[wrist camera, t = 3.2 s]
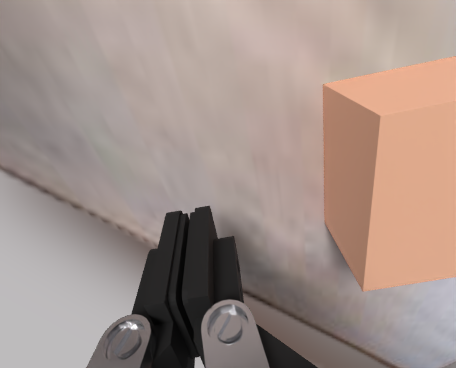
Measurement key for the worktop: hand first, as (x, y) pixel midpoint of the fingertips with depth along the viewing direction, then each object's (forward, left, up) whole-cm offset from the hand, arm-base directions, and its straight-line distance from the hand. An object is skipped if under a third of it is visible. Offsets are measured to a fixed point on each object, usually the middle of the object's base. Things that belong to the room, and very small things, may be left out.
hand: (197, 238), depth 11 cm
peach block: (-10, 0, -4) cm, 11 cm away
